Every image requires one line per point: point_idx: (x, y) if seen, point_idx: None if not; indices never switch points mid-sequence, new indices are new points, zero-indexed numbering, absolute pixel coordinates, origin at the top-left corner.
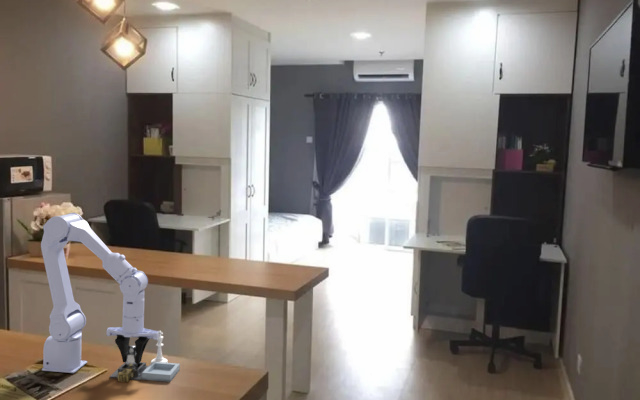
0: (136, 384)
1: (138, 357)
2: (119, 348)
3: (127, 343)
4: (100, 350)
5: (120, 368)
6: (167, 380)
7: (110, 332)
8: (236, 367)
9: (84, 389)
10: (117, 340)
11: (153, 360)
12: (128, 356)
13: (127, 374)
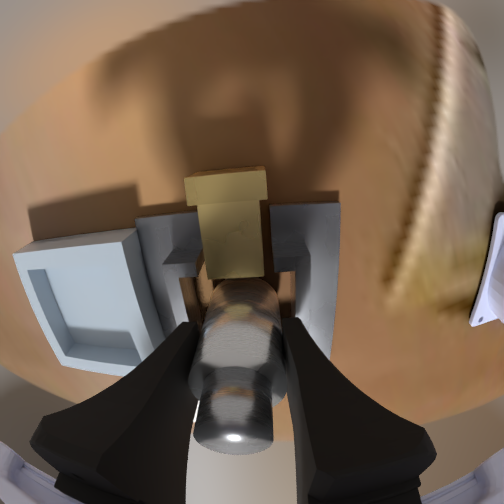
0: (135, 159)
1: (159, 346)
2: (350, 388)
3: (297, 459)
4: (432, 405)
5: (295, 265)
6: (36, 241)
7: (494, 492)
8: (4, 365)
9: (387, 38)
10: (404, 463)
11: (198, 401)
12: (247, 346)
13: (189, 178)
